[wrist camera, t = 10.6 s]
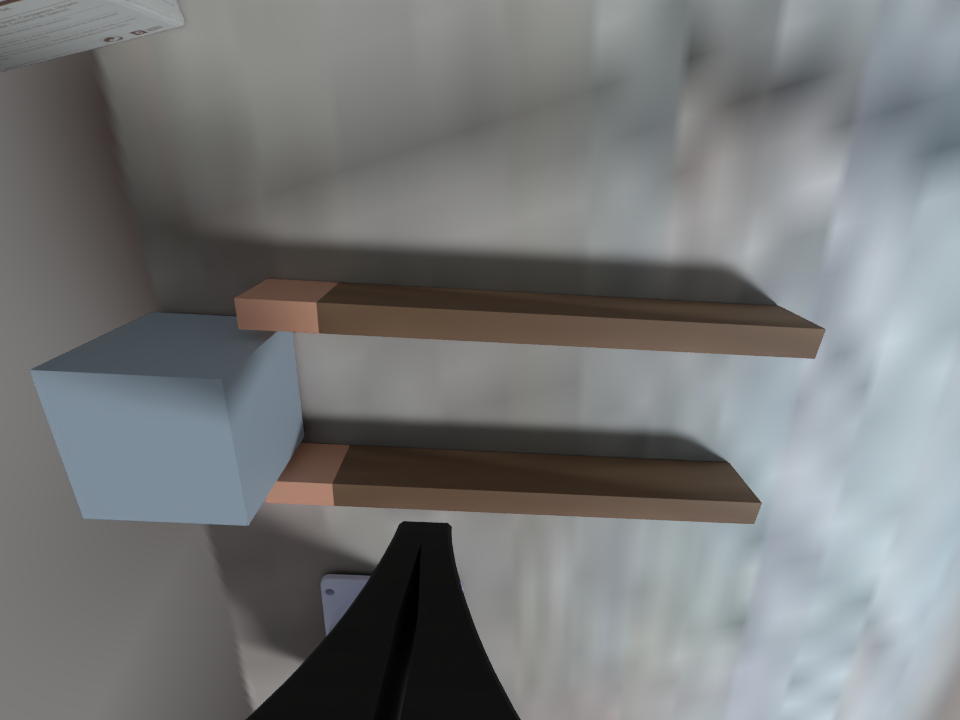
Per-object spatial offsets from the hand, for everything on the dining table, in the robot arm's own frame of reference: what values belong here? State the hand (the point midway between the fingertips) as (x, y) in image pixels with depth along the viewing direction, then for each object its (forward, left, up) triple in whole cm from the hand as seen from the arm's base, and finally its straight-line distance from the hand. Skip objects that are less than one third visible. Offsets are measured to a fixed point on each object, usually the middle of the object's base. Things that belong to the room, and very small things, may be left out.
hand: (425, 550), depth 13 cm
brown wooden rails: (0, -3, -10) cm, 10 cm away
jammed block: (0, +10, -10) cm, 14 cm away
